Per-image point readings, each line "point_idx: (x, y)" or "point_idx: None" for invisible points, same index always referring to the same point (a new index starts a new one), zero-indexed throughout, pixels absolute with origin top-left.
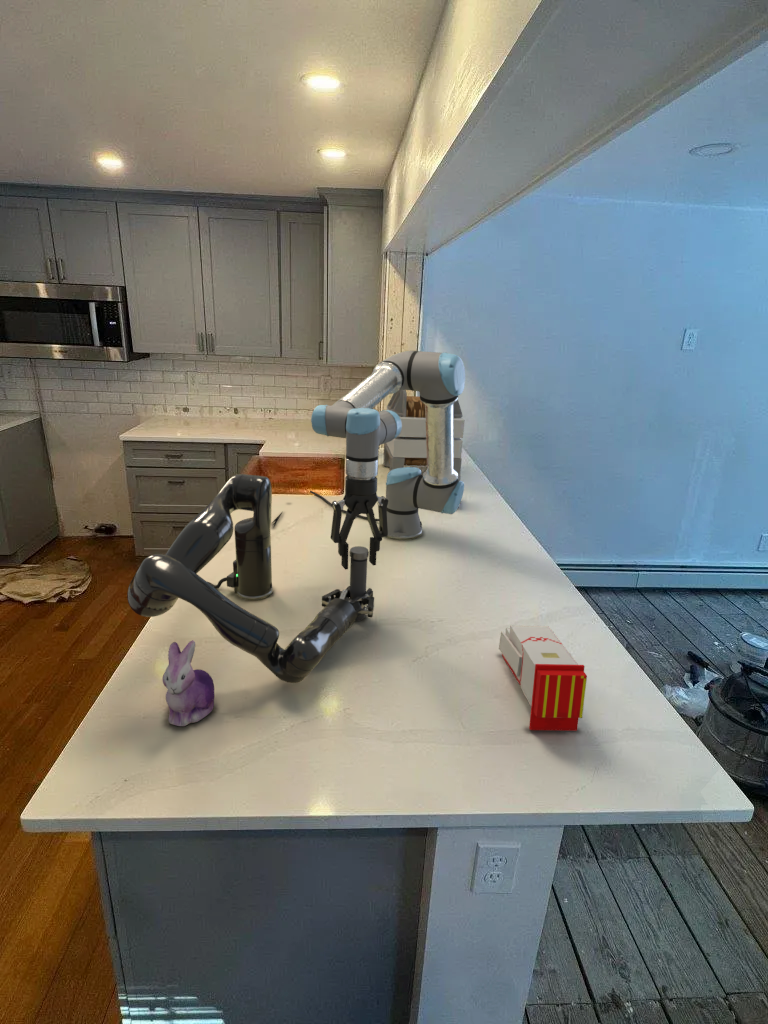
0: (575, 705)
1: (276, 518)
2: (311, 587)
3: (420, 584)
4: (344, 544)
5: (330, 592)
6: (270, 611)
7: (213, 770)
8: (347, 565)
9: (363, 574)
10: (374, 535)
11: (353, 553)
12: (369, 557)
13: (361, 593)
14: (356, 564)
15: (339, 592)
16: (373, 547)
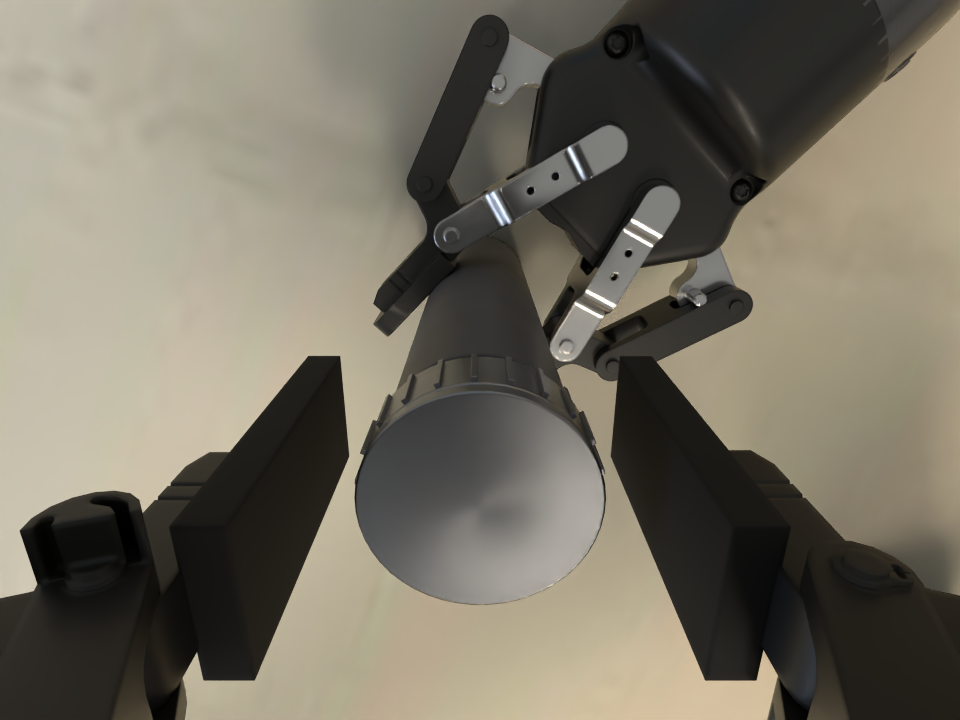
0: None
1: None
2: (587, 594)
3: (48, 476)
4: (782, 560)
5: (668, 352)
6: (851, 456)
7: None
8: (638, 370)
9: (458, 311)
10: (160, 672)
11: (590, 442)
12: (338, 473)
13: (475, 268)
14: (537, 360)
15: (601, 350)
16: (273, 470)
